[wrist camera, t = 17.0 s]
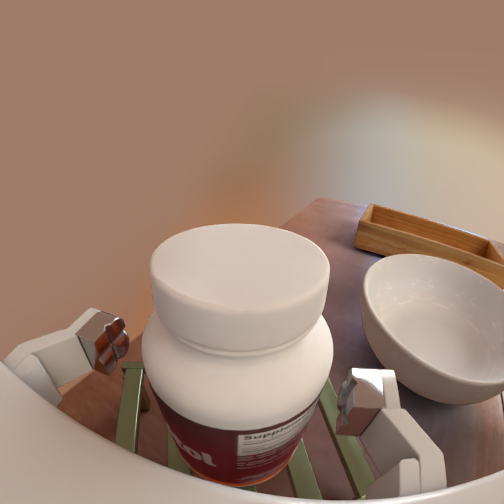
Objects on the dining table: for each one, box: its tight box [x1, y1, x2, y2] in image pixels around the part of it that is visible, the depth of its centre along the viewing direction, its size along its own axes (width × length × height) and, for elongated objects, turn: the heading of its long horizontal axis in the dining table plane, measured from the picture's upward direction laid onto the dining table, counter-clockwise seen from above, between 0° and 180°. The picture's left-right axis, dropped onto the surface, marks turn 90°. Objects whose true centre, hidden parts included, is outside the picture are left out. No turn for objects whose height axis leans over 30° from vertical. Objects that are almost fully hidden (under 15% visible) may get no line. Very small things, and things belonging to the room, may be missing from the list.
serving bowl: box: [361, 254, 504, 405], centre depth 22 cm, size 21×21×7 cm
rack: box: [115, 362, 375, 500], centre depth 13 cm, size 14×12×5 cm
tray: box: [354, 204, 504, 290], centre depth 44 cm, size 31×15×6 cm, turn 59°
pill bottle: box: [142, 224, 333, 487], centre depth 10 cm, size 6×6×11 cm
